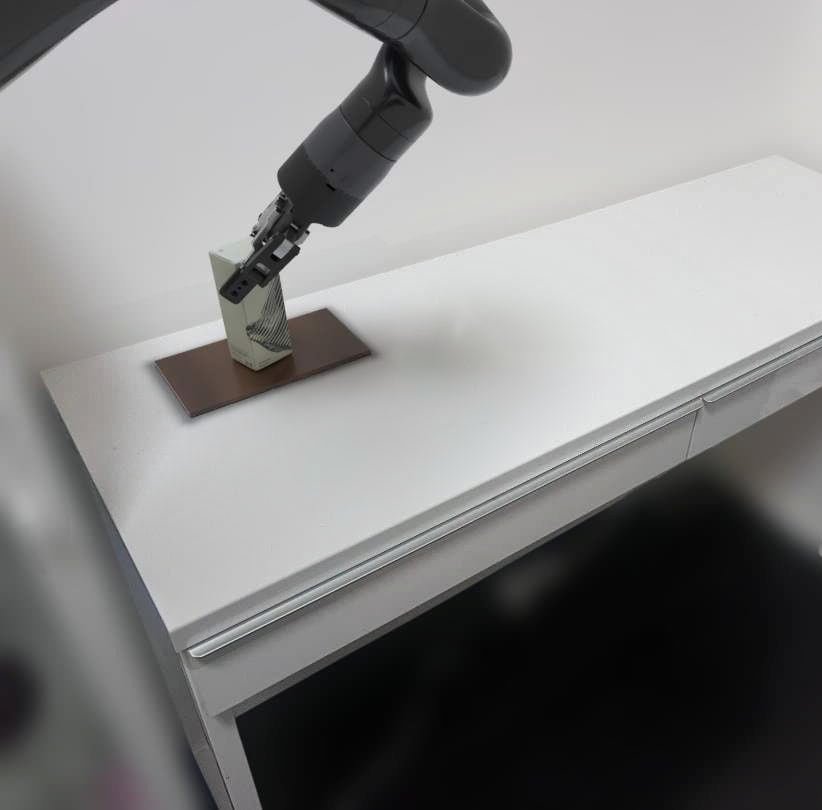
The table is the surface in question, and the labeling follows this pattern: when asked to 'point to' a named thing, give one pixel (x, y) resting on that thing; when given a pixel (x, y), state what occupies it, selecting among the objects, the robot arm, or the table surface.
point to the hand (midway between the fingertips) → (233, 280)
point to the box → (251, 311)
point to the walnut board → (232, 381)
